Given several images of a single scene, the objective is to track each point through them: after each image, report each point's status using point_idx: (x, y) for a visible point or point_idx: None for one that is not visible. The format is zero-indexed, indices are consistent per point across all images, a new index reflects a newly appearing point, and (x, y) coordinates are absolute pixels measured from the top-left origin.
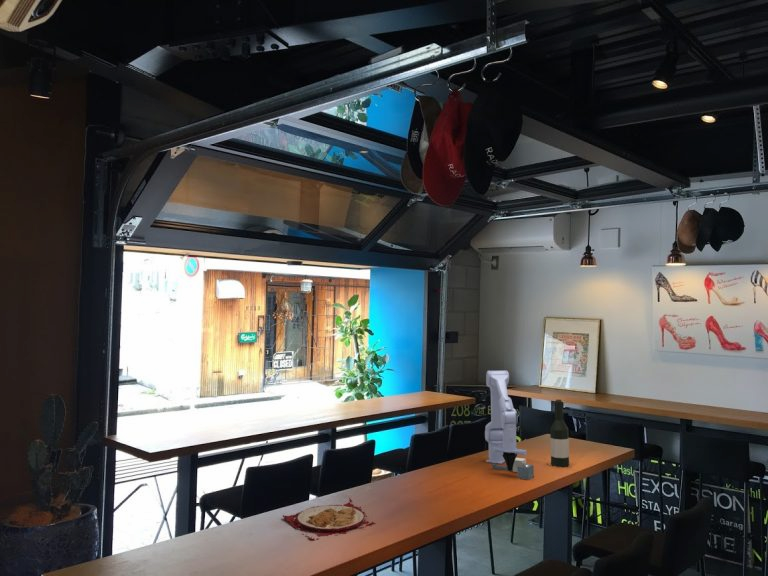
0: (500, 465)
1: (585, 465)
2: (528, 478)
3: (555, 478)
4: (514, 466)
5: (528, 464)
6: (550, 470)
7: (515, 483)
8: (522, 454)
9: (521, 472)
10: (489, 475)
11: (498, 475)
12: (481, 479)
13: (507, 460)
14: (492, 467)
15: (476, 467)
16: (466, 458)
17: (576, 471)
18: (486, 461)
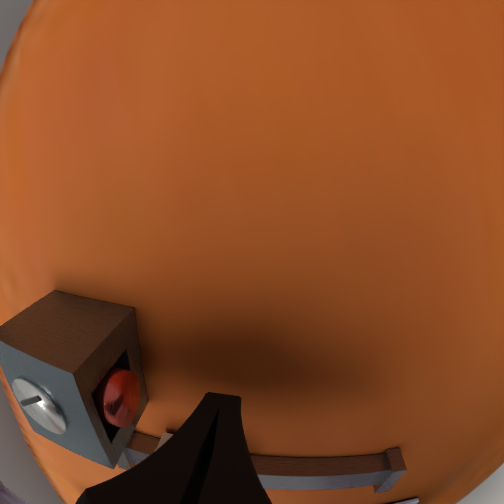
0: (345, 486)
1: (67, 494)
2: (51, 295)
3: None
4: None
5: (60, 442)
6: (95, 471)
7: (96, 124)
8: (12, 496)
9: (70, 327)
10: (416, 299)
11: (335, 337)
12: (451, 122)
13: (212, 480)
14: (396, 456)
15: (479, 423)
16: (481, 480)
17: (35, 452)
18: (416, 499)
